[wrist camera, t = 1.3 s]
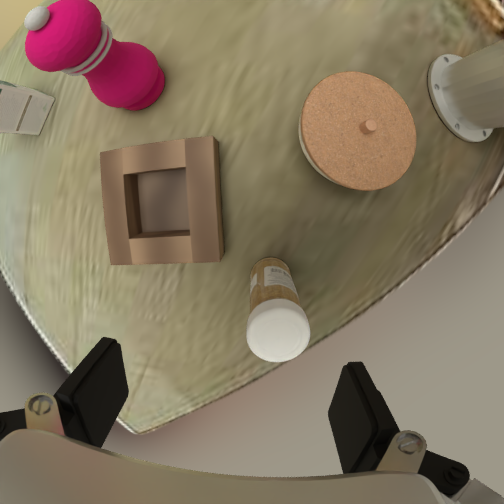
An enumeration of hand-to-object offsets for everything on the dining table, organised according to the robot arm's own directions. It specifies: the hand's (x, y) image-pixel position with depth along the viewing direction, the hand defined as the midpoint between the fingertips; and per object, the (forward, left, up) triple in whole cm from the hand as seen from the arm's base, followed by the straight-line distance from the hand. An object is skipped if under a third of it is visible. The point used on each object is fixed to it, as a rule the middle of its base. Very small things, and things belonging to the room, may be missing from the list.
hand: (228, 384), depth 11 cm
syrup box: (+28, -21, -22) cm, 42 cm away
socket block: (+8, -6, -22) cm, 24 cm away
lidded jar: (-11, -12, -22) cm, 27 cm away
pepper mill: (+11, -20, -22) cm, 32 cm away
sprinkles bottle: (-3, +3, -22) cm, 22 cm away
